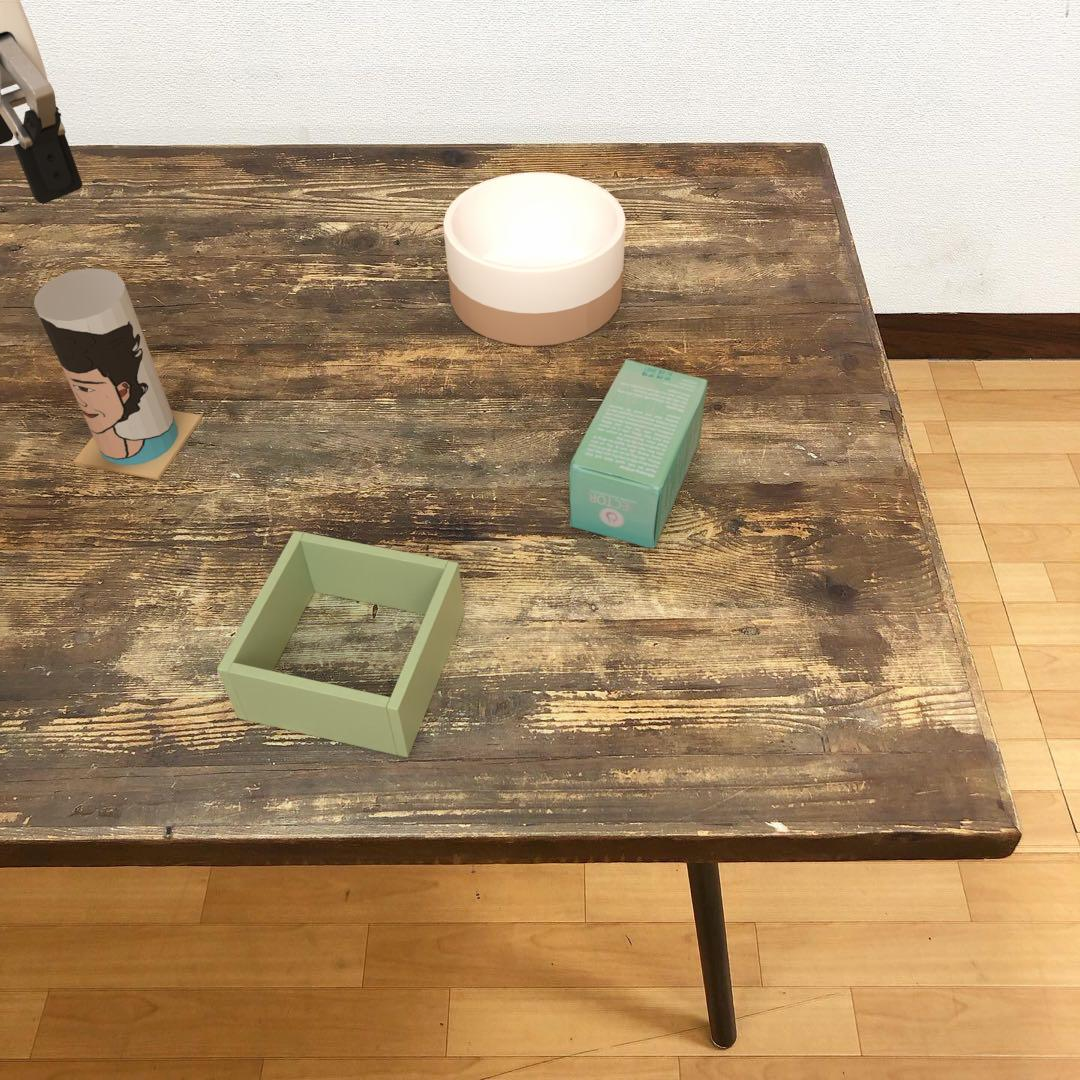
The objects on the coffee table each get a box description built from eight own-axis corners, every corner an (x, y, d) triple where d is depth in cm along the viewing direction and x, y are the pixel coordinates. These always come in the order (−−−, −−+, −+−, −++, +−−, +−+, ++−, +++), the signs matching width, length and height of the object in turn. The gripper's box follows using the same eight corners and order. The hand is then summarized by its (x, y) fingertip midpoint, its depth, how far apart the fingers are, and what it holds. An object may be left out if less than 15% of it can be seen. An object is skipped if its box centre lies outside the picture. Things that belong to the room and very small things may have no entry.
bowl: (587, 364, 99) (589, 288, 93) (420, 324, 104) (411, 249, 97) (645, 263, 110) (650, 189, 103) (491, 231, 114) (487, 158, 108)
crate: (237, 718, 74) (216, 669, 70) (308, 582, 82) (294, 530, 78) (408, 758, 72) (397, 709, 68) (464, 614, 80) (458, 562, 76)
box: (565, 530, 85) (566, 463, 80) (619, 423, 94) (623, 356, 88) (654, 555, 84) (661, 488, 78) (700, 444, 92) (710, 376, 86)
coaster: (74, 464, 91) (73, 461, 91) (122, 404, 97) (120, 400, 96) (158, 480, 90) (157, 477, 90) (202, 418, 95) (201, 415, 95)
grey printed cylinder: (106, 414, 95) (45, 271, 84) (183, 409, 95) (132, 266, 84) (91, 467, 91) (24, 323, 79) (171, 462, 91) (116, 318, 80)
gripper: (-211, -128, 63) (-83, 146, 76) (-86, -56, 55) (35, 238, 68) (-87, -156, 67) (16, 110, 79) (48, -93, 58) (139, 194, 71)
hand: (25, 169), depth 73 cm, fingers open, 9 cm apart
